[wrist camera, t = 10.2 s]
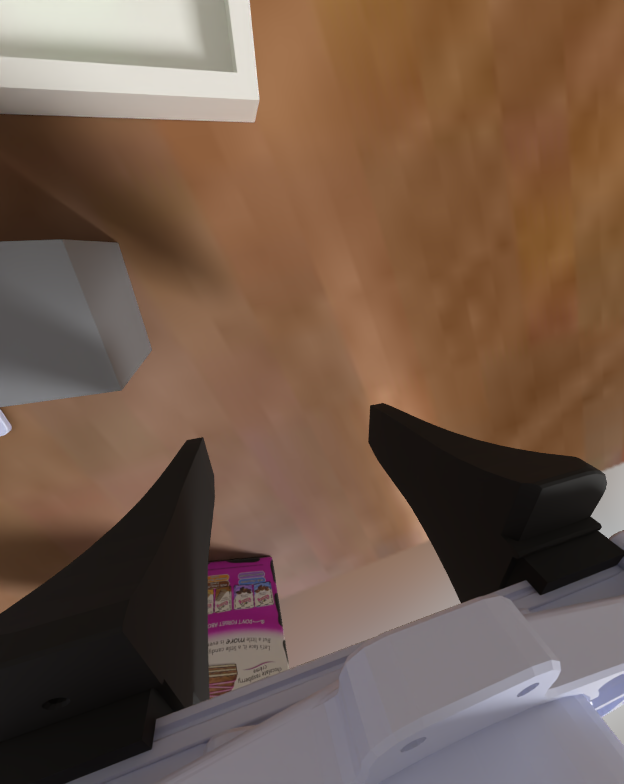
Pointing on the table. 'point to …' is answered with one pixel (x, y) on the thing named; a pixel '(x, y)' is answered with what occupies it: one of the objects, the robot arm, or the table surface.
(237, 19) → the tray
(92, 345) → the gray block
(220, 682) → the candy bar box
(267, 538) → the table surface
